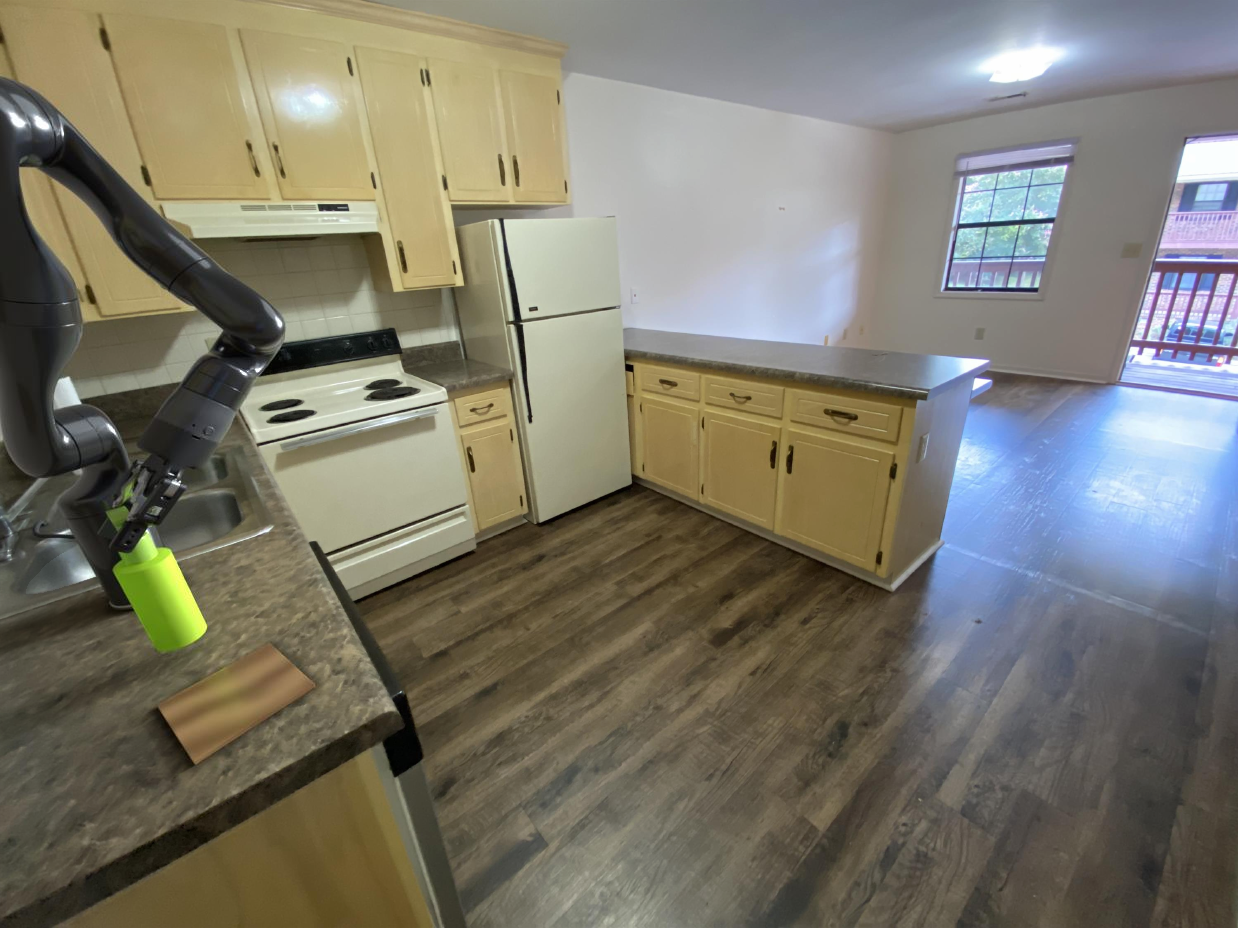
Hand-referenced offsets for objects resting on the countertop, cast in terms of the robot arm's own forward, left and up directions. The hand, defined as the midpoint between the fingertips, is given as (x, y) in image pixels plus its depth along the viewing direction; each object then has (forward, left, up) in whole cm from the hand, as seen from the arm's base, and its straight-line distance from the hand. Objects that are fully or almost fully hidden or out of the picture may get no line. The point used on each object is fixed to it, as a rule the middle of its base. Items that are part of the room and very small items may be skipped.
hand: (113, 543), depth 64 cm
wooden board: (+16, +3, -19) cm, 25 cm away
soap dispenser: (0, +2, -16) cm, 16 cm away
